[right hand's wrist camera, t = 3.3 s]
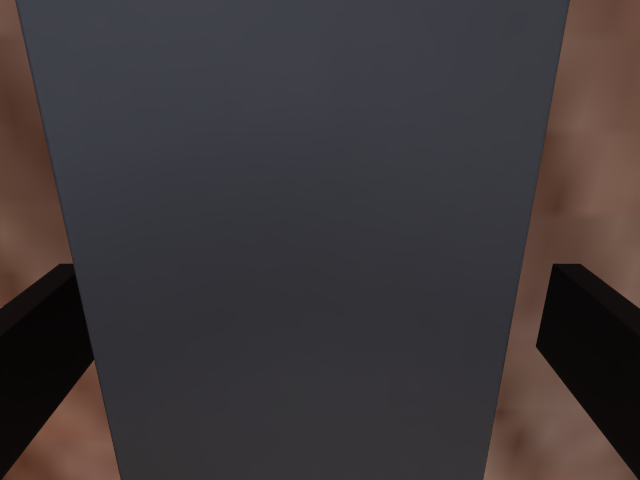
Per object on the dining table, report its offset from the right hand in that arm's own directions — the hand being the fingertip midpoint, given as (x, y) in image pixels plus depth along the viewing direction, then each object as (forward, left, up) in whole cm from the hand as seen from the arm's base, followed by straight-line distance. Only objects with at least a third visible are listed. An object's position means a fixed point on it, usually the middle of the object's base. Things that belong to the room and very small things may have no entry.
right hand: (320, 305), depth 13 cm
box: (+7, +2, -6) cm, 9 cm away
